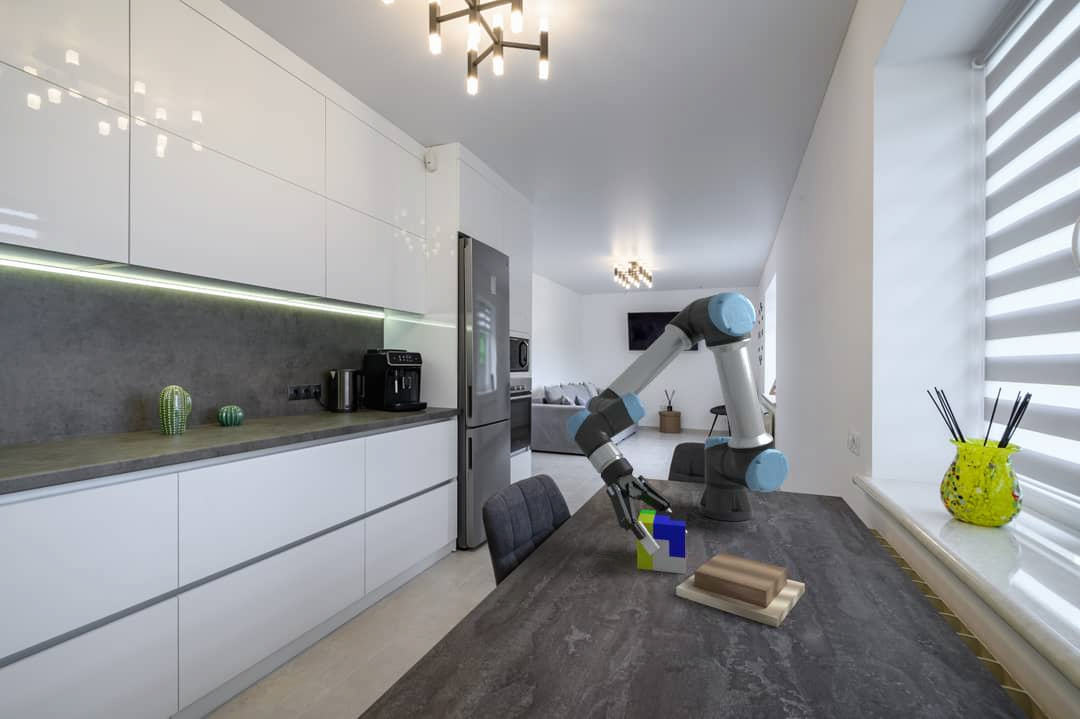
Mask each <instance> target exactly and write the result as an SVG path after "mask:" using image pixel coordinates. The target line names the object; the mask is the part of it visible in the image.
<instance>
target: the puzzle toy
mask: <svg viewBox="0 0 1080 719" xmlns="http://www.w3.org/2000/svg"><path fill="white" fill-rule="evenodd" d="M686 518H687V517H686V512H677V511H676V512H674V511H672V512H665V511H657V510H651V509H650V510H649V509H641V510H640V512H639V516H638V518H637V523H638V522H639V521H641V522H642V524H643V525H644V526H645V528H646V529H647V531H648V532H649V533H650V535H651V536H652V537H653V539H654V540H655V541H656V543H657V544H658V546H659V547H660V548H659V549H658V550H656V551H655V552H654V553H653V554H652V555H649V553H648V552H647V551H646V549H645V548H644V546H643V545H642V544H641V542H640V541H639V540H638V539H637V538H636V545H637V546H636V547H637V548H636V549H637V550H636V555H637V557H636V560H637V561H636V568H637V569H639V570H646V571H648V570H649V571H657V572H665V573H674V574H683V575H686V569H687V568H686V566H687V565H686V564H687V563H686V562H687V561H686V560H687V559H686V558H687V557H686V556H687V555H686V554H687V552H686V550H687V549H686V548H687V546H686V545H687V544H686V543H687V540H686V539H687V537H686V535H687V533H686V530H687V527H686V522H687V521H686Z"/></svg>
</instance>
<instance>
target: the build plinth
mask: <svg viewBox="0 0 1080 719" xmlns="http://www.w3.org/2000/svg"><path fill="white" fill-rule="evenodd" d="M805 584H806V583H804V582H799V581H795V580H791V579H788V568H787V567H786V568H785V567H782V566H778V565H775V564H769V563H765V562H762V561H757V560H753V559H749V558H745V557H741V556H737V555H733V554H730V553H729V554H728V553H724V552H722V551H721V552H719V553H717V554H716V555H715V556H713V557H712V558H710V559H709V560H708V561H706V562H705V563H703V564H702V565H701V566H700V567H698V568H696V569H695V570H694V574H693V575H692V576H690V577H688V578H687V579H685V580H684V581H683V582H682V583H680V584H679V585H677V586H676V588H675V590H676V596H677V595H678V596H677V597H681V598H684V599H686V598H687V600H690V601H693V602H696V603H699V604H703V605H706V606H708V607H711V608H713V609H718V610H720V611H721V610H722V611H724V612H728V613H731V614H734V615H737V616H740V617H744V618H745V619H750V620H753V621H754V622H755V621H756V622H758V623H762V624H765V625H768V626H772V627H774V628H779V626H780V625H781V624H782V623H783V621H784V620H785V619H786V617H787V616H788V614H789V613H790V612H791V610H793V608H794V606H795V605H796V604H797V602H798V601H799V600H800V598H801V597H802V596H803V594H804V593H805V591H806V590H805V589H806V587H805V586H806V585H805Z"/></svg>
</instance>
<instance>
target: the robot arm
mask: <svg viewBox="0 0 1080 719" xmlns="http://www.w3.org/2000/svg"><path fill="white" fill-rule="evenodd" d="M754 307H755V306H753V303H752V302H751V301H750V299H748V297H746V296H745V295H743V294H741V293H739V292H734V291H732V292H729V291H728V292H719V293H718V294H714V295H710V296H705V297H702V298H701V297H700V298H698V299H696V300H693V301H692V302H690V303H688V305H686V306H685V307H684V308H682V310H680V312H679V313H678V314H676V316H674V317H673V318H672V320H670V321H669V322H668V323H667V324H666V325H665V327H664V332H663V333H662V334H661V335H660V336H659V337H658V338H657V339H656V340H654V342H653V343H651V345H650V346H648V347H647V349H646V350H645V351H643V353H642V354H640V355H639V356H638V357H637V358H636V359H635V360H634V361H633V362H632V363H631V364H630V365H629V366H628V367H627V368H626V369H624V371H622V372H621V374H620V375H619V376H618V377H616V378H615V380H614V381H613V382H611V383H610V384H609V386H608V387H606V388H605V389H604V390H603V391H602V392H601V393H600V394H599V395H594V396H593V397H590V398H589V399H588V400H587V401H586V404H585V407H584V409H582V410H578V411H576V412H575V413H574V414H572V415H571V416H570V417H569V418H568V420H567V422H566V427H565V428H566V429H567V431H568V433H569V434H570V437H571V438H572V439H573V442H575V444H576V445H577V446H578V448H579V449H580V450H581V451H582V453H583V454H584V455H585V457H586V458H587V460H588V461H589V462H590V464H591V465H592V467H593V468H594V469H595V471H596V472H597V473H598V474H600V478H601V480H602V481H603V482H604V484H605V485H606V487H608V488H607V489H606V490H605V491H606V492H605V493H606V494H607V496H608V497H609V499H610V501H611V504H612V507H613V510H614V512H615V516H616V518H617V521H618V524H619V526H620V528H621V529H624V530H625V531H629V530H631V532H632V533H633V534H634V535H635V537H636V540H637V539H638V540H639V541H640V542H641V544H642V545H643V546H644V548H645V549H646V551H647V552H648V553H649V555H652V554H653V553H654V552H655V551H656V550H658V549H659V548H660V547H659V546H658V544H657V543H656V541H655V540H654V539H653V537H652V536H651V535H650V533H649V532H648V531H647V529H646V528H645V526H644V525H643V524H642V522H641V521H639V522H638V523H637V521H638V518H637V517H638V516H637V512H636V507H635V503H634V501H635V500H637V501H642V502H643V503H645V504H646V505H648V506H649V507H650V508H653V509H654V510H655V511H665V512H673V511H672V510H671V507H672V506H673V504H672V501H671V500H669V499H668V497H666V496H665V495H664V494H663V493H662V492H660V491H659V490H658V489H657V488H656V487H655V486H653V485H652V484H651V483H650V482H649V481H648V480H647V479H646V478H645V477H644V476H643V475H639V476H638V477H635V476H634V475H633V473H634V467H633V466H632V465H631V464H630V462H629V461H628V460H627V458H626V457H624V454H623V452H622V451H621V450H620V449H619V448H618V447H617V445H616V444H615V443H614V441H613V440H612V439H613V438H614V437H615V436H617V435H618V434H621V433H622V432H624V431H626V430H627V429H629V428H630V427H632V426H633V425H636V424H637V423H638V422H640V420H642V419H644V417H645V416H646V408H645V406H644V404H643V402H642V400H641V399H640V397H639V395H640V394H641V392H643V391H644V390H645V388H647V386H649V385H650V384H651V383H652V382H653V381H654V380H655V379H656V378H657V377H658V375H660V374H661V373H662V372H663V371H664V370H665V369H666V368H667V367H668V366H669V365H671V363H672V362H673V361H674V360H676V358H677V357H679V356H680V354H681V353H683V352H684V351H689V350H691V349H692V347H694V346H695V345H696V344H697V343H700V342H702V341H703V340H704V343H705V348H706V349H707V350H709V351H711V352H712V353H713V356H714V361H715V365H716V370H717V375H718V379H719V383H720V388H721V393H722V398H723V401H724V406H725V411H726V414H727V415H726V416H727V420H728V423H729V428H730V435H731V436H713V437H712V436H710V437H707V438H706V439H705V441H704V449H703V450H704V451H703V452H704V488H703V491H702V494H701V498H700V500H699V504H698V512H699V514H701V515H702V516H704V517H706V518H710V519H714V520H719V521H720V520H721V521H726V522H727V521H728V522H741V521H742V522H743V521H749V520H751V519H753V517H754V509H753V505H752V503H751V500H750V496H749V493H748V490H747V488H748V489H749V490H752V491H755V492H761V493H772V492H774V491H776V490H778V489H780V488H781V486H782V485H783V484H784V482H785V480H787V477H788V474H789V461H788V459H787V457H786V455H785V454H784V453H782V452H781V451H780V450H778V449H776V446H775V440H774V438H773V436H772V435H771V434H769V433H768V432H766V429H765V428H766V427H765V424H764V418H763V414H762V410H761V409H762V408H761V405H760V402H759V400H760V399H759V397H758V392H757V387H756V382H755V378H754V374H753V369H752V364H751V360H750V355H749V350H748V344H750V341H751V340H752V336H751V330H752V329H753V328H754V324H755V323H756V318H757V317H756V316H757V315H756V310H755V308H754ZM686 534H688V531H687V529H686Z"/></svg>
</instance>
